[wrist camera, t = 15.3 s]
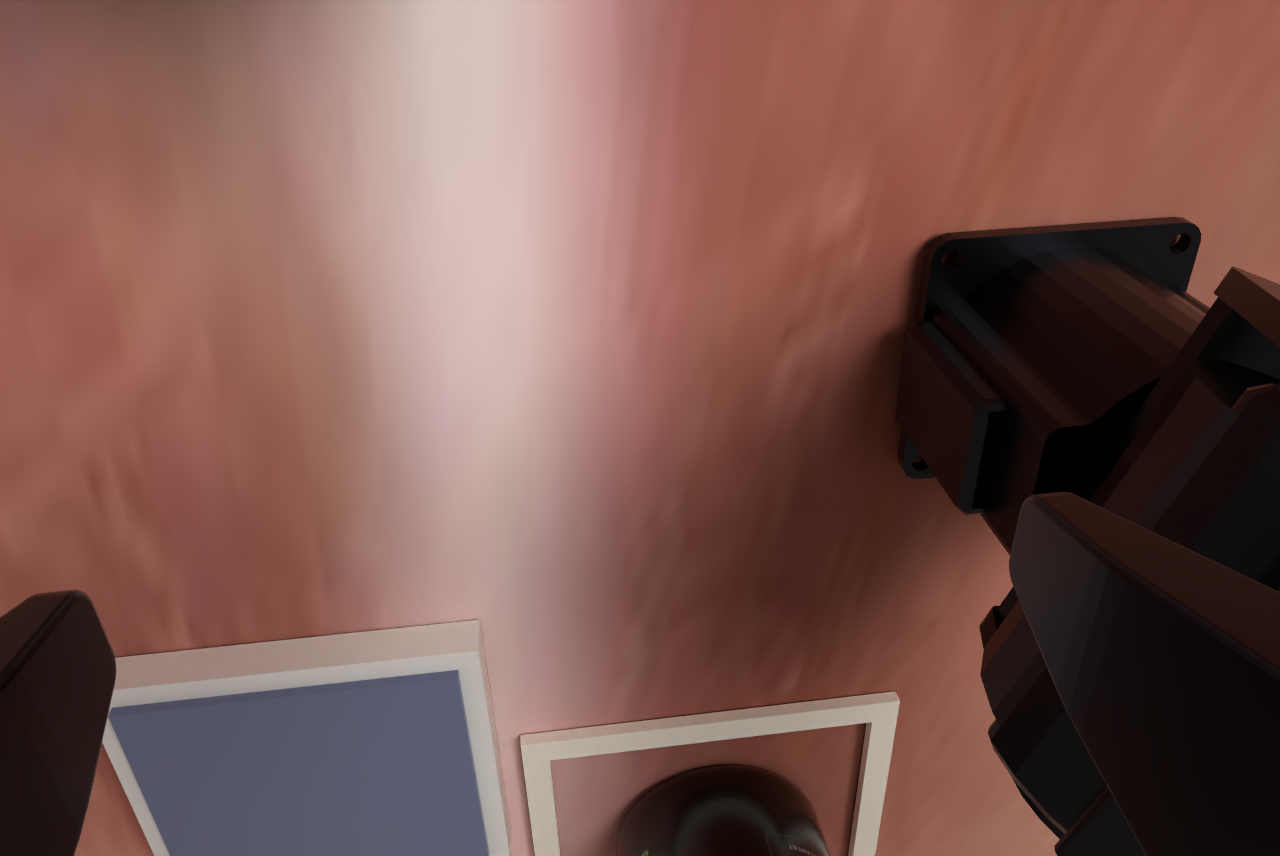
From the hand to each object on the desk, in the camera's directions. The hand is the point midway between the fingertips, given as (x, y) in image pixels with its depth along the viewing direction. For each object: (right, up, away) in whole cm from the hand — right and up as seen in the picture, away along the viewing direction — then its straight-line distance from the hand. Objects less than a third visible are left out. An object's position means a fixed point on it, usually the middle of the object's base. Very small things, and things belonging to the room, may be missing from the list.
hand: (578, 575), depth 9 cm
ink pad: (-9, -8, +19) cm, 22 cm away
